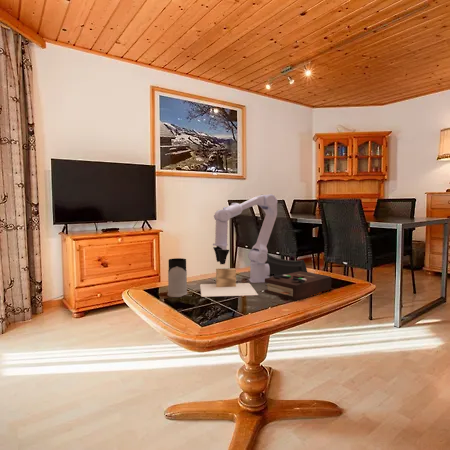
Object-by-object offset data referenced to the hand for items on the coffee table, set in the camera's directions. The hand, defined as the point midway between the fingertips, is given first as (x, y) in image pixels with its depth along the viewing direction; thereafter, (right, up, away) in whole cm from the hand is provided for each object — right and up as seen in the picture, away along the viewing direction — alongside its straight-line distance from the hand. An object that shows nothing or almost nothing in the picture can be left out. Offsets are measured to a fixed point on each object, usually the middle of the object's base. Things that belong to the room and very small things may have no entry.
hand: (220, 262), depth 159 cm
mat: (+3, -11, -10) cm, 15 cm away
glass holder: (-19, -12, -14) cm, 26 cm away
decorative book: (+34, -12, -13) cm, 39 cm away
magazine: (+33, -10, +20) cm, 40 cm away
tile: (+3, -10, -4) cm, 11 cm away
